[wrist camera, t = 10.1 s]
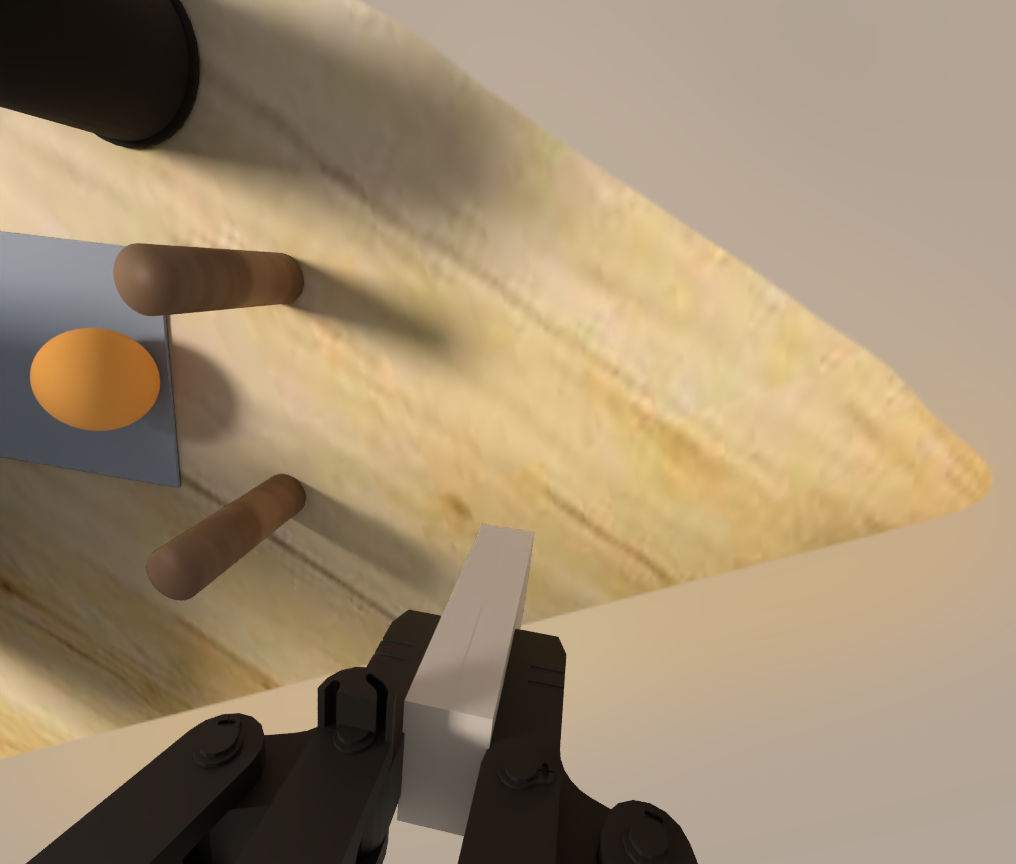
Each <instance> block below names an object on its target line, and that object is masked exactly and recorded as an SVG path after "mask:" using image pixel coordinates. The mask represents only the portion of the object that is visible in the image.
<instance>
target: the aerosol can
mask: <svg viewBox="0 0 1016 864" xmlns="http://www.w3.org/2000/svg"><path fill="white" fill-rule="evenodd" d="M198 82H199V56H198V49H197V42H196V38H195V35H194V32H193V28H192V25H191V22H190V20H189V18H188V16H187V13H186V11H185V9H184V7H183V5H182V3H181V2H180V0H0V107H3V108H7V109H10V110H14V111H17V112H21V113H25V114H28V115H32V116H35V117H39V118H42V119H46V120H49V121H53V122H56V123H60V124H63V125H67V126H70V127H74V128H78V129H81V130H85V131H88V132H92V133H94V134H96V135H97V136H98V137H100V138H101V139H104V140H106V141H108V142H110V143H112V144H115V145H118V146H123V147H127V148H146V147H150V146H153V145H157V144H160V143H161V142H163V141H165V140H166V139H168V138H170V137H171V136H172V135H173V134H174V133H175V132H176V131H177V130H178V129H179V128H180V127H181V126H182V125H183V123H184V122H185V120H186V118H187V117H188V115H189V114H190V111H191V109H192V106H193V103H194V101H195V98H196V93H197V88H198Z"/></svg>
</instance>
